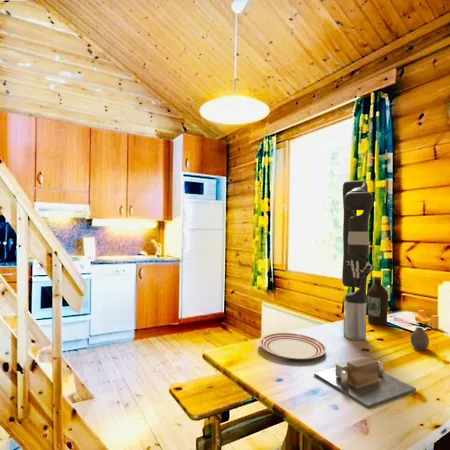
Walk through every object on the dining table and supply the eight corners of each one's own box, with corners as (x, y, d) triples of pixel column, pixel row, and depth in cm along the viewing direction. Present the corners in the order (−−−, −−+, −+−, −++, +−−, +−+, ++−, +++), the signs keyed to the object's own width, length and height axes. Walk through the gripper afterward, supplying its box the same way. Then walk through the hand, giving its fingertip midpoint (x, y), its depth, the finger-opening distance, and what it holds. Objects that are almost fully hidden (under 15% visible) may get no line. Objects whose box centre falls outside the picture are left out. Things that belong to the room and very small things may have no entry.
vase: (406, 345, 138) (406, 325, 138) (421, 345, 139) (421, 325, 139) (417, 351, 131) (417, 330, 131) (433, 351, 132) (433, 330, 132)
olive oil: (373, 318, 179) (373, 275, 179) (391, 323, 170) (392, 277, 170) (363, 321, 173) (363, 276, 173) (381, 326, 164) (382, 279, 164)
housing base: (314, 377, 108) (314, 359, 108) (358, 364, 118) (358, 349, 118) (368, 410, 88) (368, 389, 88) (416, 392, 98) (416, 373, 98)
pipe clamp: (415, 321, 174) (415, 310, 174) (422, 321, 174) (422, 310, 174) (430, 328, 162) (430, 316, 162) (438, 328, 162) (438, 316, 162)
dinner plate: (337, 350, 132) (337, 342, 132) (305, 372, 112) (305, 363, 112) (282, 335, 151) (282, 328, 151) (246, 351, 131) (246, 343, 131)
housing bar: (335, 375, 105) (335, 363, 105) (362, 368, 111) (362, 357, 111) (342, 379, 103) (342, 367, 103) (369, 371, 108) (369, 360, 108)
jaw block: (346, 380, 103) (347, 362, 103) (368, 374, 107) (368, 356, 107) (356, 385, 99) (356, 367, 99) (378, 379, 104) (378, 361, 104)
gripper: (338, 242, 125) (337, 285, 125) (366, 244, 113) (365, 291, 113) (351, 242, 128) (351, 284, 128) (379, 243, 117) (379, 289, 117)
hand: (358, 287), depth 121 cm, fingers closed
